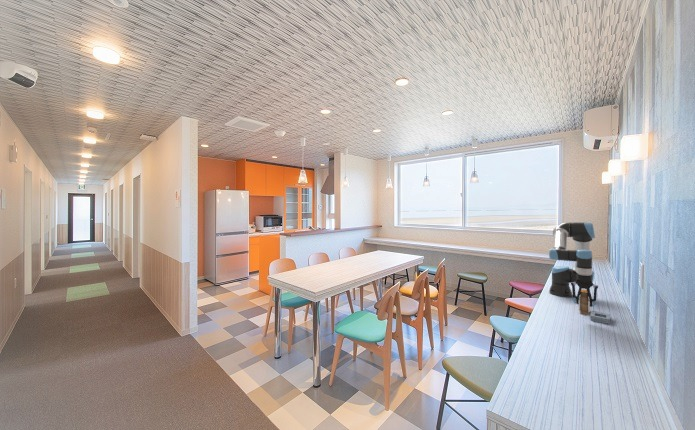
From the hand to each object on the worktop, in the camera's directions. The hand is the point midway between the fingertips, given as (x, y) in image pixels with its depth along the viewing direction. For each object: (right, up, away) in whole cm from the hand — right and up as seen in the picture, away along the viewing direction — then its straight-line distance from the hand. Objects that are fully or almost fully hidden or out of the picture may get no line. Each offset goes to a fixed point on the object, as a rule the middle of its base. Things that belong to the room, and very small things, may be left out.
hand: (584, 310), depth 175 cm
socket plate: (+14, -7, +4) cm, 16 cm away
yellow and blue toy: (+16, -7, +19) cm, 26 cm away
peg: (0, -3, 0) cm, 3 cm away
